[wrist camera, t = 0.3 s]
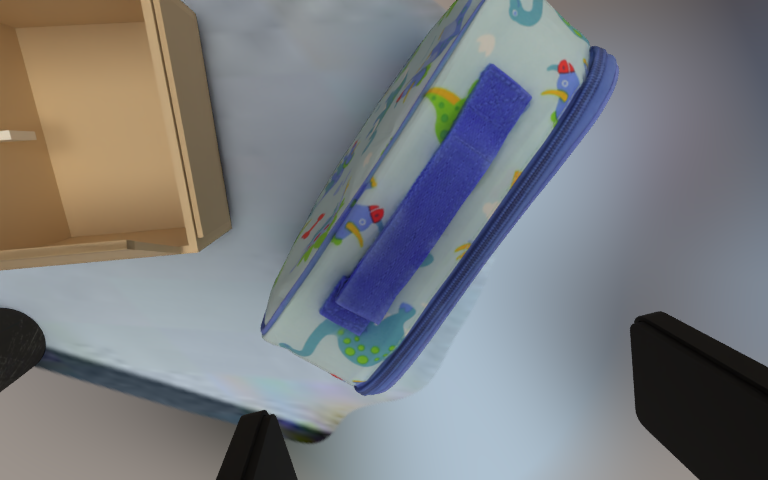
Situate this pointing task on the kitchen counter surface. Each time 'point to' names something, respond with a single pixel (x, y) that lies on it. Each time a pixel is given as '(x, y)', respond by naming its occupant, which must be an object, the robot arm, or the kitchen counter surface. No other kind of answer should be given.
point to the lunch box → (435, 186)
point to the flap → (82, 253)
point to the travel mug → (18, 345)
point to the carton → (106, 126)
